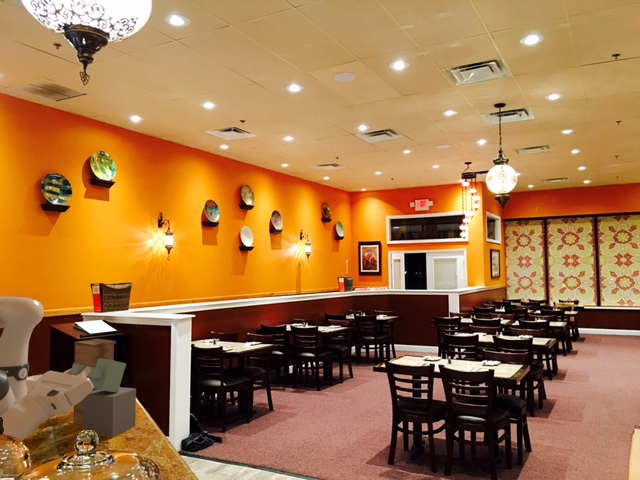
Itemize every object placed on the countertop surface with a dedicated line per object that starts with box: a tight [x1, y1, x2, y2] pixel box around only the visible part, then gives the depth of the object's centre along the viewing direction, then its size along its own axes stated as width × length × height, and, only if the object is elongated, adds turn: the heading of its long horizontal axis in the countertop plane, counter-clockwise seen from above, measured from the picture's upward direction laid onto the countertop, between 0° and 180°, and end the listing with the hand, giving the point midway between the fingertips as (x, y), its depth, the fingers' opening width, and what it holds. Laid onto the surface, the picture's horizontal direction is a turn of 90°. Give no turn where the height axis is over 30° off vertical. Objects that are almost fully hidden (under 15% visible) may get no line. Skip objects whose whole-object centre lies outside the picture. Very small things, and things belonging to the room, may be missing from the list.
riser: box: [81, 386, 137, 439], centre depth 165 cm, size 11×11×12 cm
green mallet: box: [70, 358, 127, 393], centre depth 161 cm, size 17×6×9 cm, turn 149°
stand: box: [72, 338, 117, 426], centre depth 174 cm, size 9×10×26 cm
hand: (84, 367), depth 157 cm, fingers closed on green mallet, 3 cm apart
